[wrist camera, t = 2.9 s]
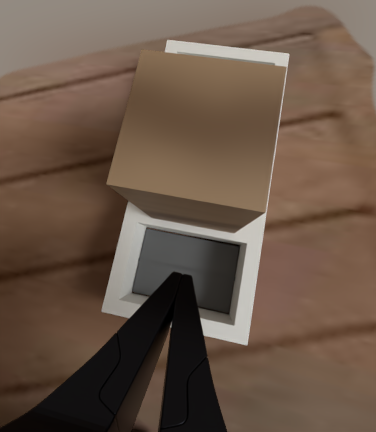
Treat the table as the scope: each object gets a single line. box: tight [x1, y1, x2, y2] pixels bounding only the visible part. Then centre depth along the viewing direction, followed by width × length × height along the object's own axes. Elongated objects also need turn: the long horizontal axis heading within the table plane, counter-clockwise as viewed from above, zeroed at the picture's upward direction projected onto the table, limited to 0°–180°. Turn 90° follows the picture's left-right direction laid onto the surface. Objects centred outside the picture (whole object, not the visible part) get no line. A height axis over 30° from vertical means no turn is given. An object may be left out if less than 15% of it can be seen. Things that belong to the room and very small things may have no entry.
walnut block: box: [106, 49, 287, 233], centre depth 13 cm, size 6×6×8 cm
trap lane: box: [101, 40, 289, 345], centre depth 18 cm, size 22×10×3 cm, turn 169°
